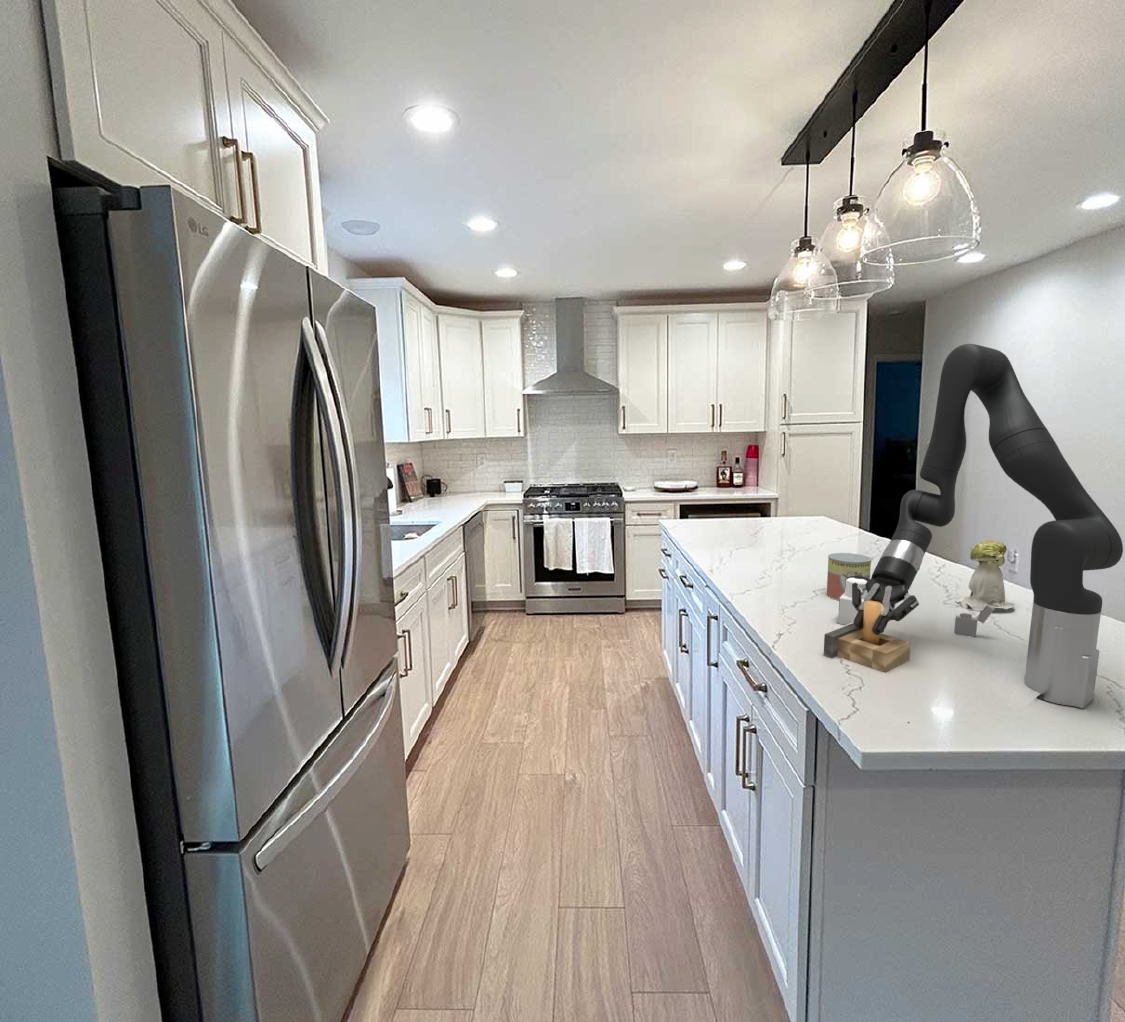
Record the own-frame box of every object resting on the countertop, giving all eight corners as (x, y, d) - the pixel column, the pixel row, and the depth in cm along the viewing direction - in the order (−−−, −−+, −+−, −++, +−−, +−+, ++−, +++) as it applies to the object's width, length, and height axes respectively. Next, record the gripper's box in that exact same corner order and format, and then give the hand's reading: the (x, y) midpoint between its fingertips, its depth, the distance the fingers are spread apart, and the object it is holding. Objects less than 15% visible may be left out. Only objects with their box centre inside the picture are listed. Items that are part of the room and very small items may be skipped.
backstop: (950, 674, 113) (952, 646, 112) (917, 694, 105) (919, 664, 104) (853, 643, 129) (855, 619, 128) (818, 658, 121) (820, 632, 120)
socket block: (909, 659, 117) (910, 641, 116) (885, 672, 112) (886, 653, 111) (862, 645, 125) (863, 628, 125) (837, 655, 120) (838, 638, 119)
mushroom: (1027, 613, 146) (1034, 545, 144) (979, 614, 146) (985, 546, 143) (991, 599, 158) (997, 536, 155) (947, 600, 158) (952, 537, 155)
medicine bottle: (844, 616, 147) (846, 572, 146) (874, 621, 143) (877, 576, 141) (837, 623, 142) (840, 578, 140) (868, 629, 137) (871, 583, 136)
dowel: (881, 648, 118) (884, 603, 117) (873, 651, 117) (876, 606, 115) (867, 643, 121) (869, 599, 119) (858, 647, 119) (861, 602, 118)
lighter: (954, 634, 133) (957, 602, 132) (954, 632, 135) (956, 600, 134) (991, 639, 130) (994, 607, 128) (990, 637, 131) (993, 604, 130)
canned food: (830, 601, 159) (833, 561, 158) (822, 590, 170) (824, 552, 168) (874, 603, 157) (876, 562, 155) (862, 592, 168) (865, 553, 166)
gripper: (860, 549, 126) (828, 612, 121) (929, 561, 114) (895, 630, 109) (871, 568, 129) (840, 630, 124) (938, 581, 118) (907, 649, 113)
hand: (866, 629), depth 117 cm, fingers closed on dowel, 3 cm apart
